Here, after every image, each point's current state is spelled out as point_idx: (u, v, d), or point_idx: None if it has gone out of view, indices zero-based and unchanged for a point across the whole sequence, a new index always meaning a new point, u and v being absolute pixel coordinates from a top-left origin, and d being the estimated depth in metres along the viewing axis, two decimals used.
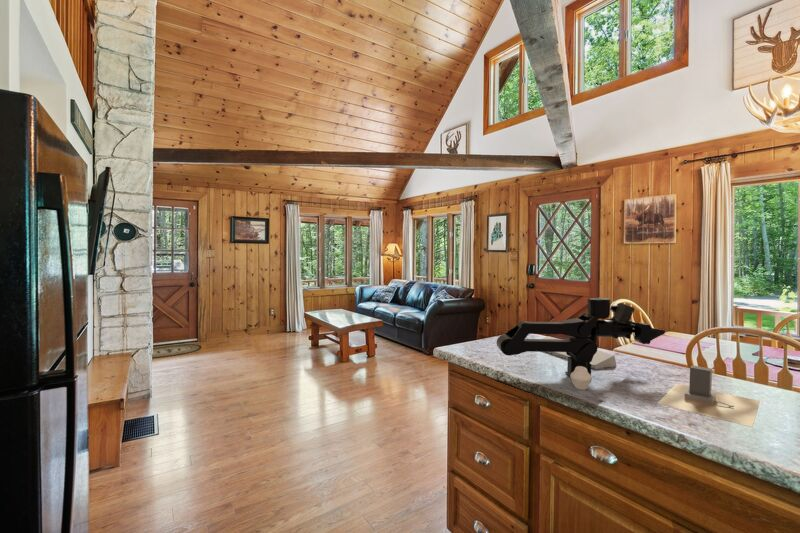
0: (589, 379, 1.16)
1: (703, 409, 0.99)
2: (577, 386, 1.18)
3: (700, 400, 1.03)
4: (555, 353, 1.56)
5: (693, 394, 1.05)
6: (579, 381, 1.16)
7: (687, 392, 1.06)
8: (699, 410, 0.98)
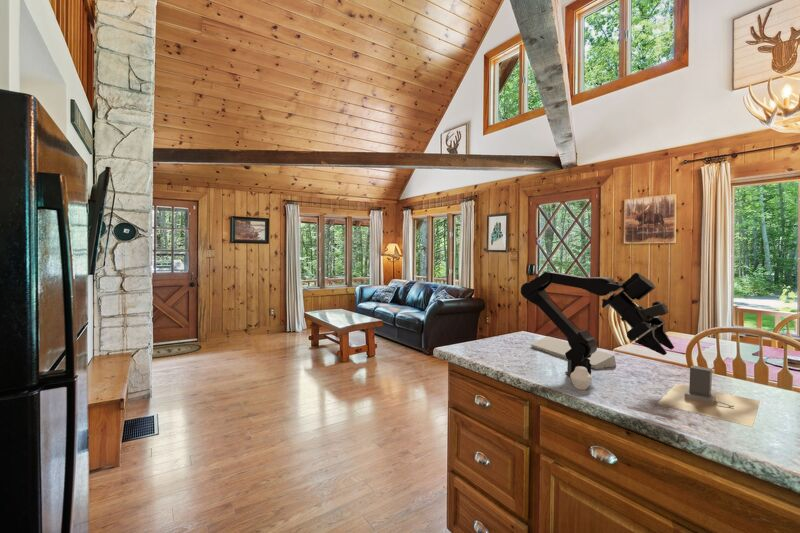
0: (589, 379, 1.16)
1: (703, 409, 0.99)
2: (577, 386, 1.18)
3: (700, 400, 1.03)
4: (555, 353, 1.56)
5: (693, 394, 1.05)
6: (579, 381, 1.16)
7: (687, 392, 1.06)
8: (699, 410, 0.98)
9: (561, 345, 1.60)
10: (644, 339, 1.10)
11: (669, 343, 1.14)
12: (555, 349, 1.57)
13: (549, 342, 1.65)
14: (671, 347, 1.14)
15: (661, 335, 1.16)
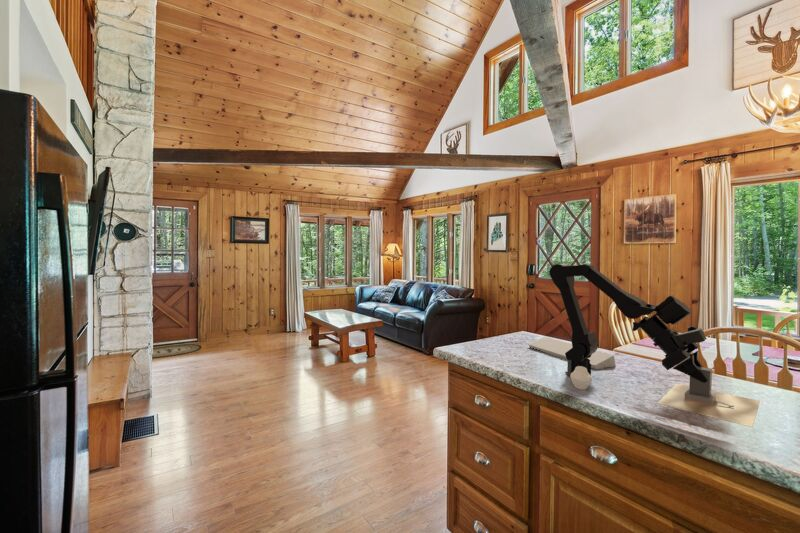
0: (589, 379, 1.16)
1: (703, 409, 0.99)
2: (577, 386, 1.18)
3: (700, 400, 1.03)
4: (553, 353, 1.55)
5: (693, 394, 1.05)
6: (579, 381, 1.16)
7: (687, 392, 1.06)
8: (699, 410, 0.98)
9: (559, 345, 1.59)
10: (683, 365, 1.06)
11: None
12: (554, 349, 1.57)
13: (547, 343, 1.65)
14: None
15: (695, 364, 1.08)
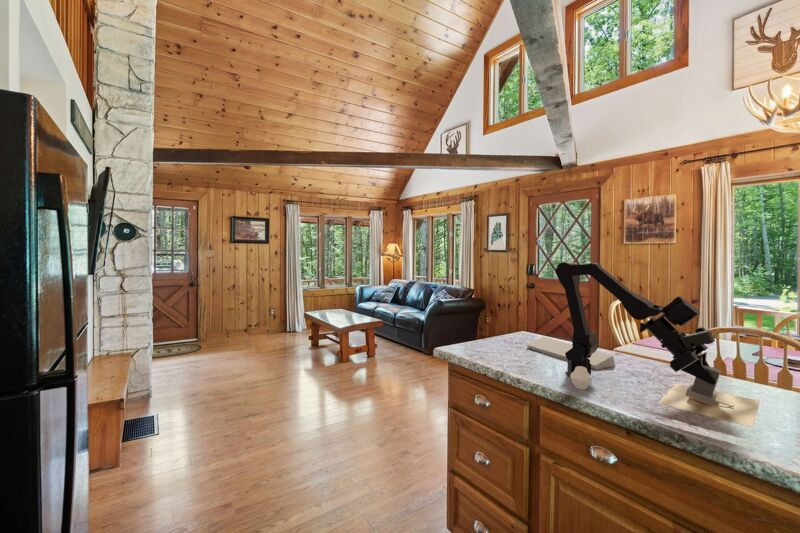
0: (589, 379, 1.16)
1: (703, 409, 0.99)
2: (577, 386, 1.18)
3: (701, 398, 1.03)
4: (552, 354, 1.55)
5: (695, 391, 1.04)
6: (579, 381, 1.16)
7: (689, 388, 1.06)
8: (699, 410, 0.98)
9: (558, 345, 1.59)
10: (691, 367, 1.04)
11: None
12: (553, 349, 1.57)
13: (545, 343, 1.64)
14: None
15: None
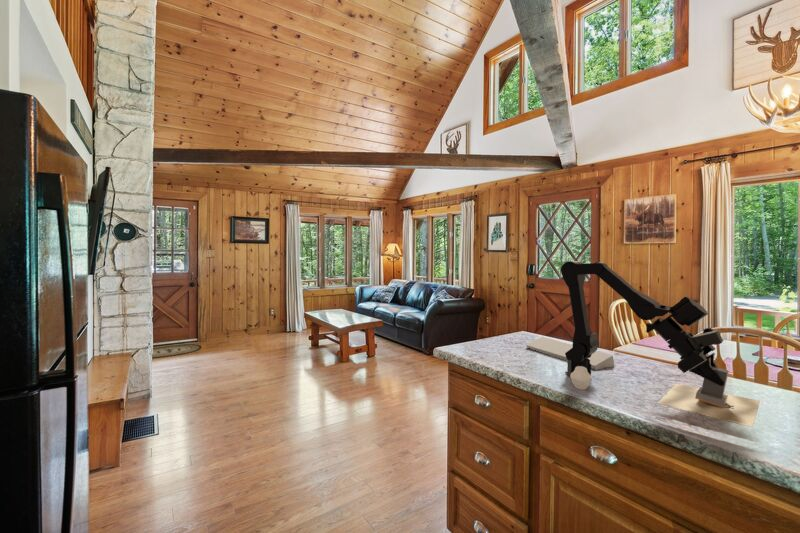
0: (589, 379, 1.16)
1: (703, 409, 0.99)
2: (577, 386, 1.18)
3: (712, 400, 1.01)
4: (552, 354, 1.55)
5: (705, 394, 1.03)
6: (579, 381, 1.16)
7: (699, 391, 1.04)
8: (699, 410, 0.98)
9: (557, 346, 1.59)
10: (699, 368, 1.03)
11: None
12: (552, 350, 1.56)
13: (544, 343, 1.64)
14: None
15: None
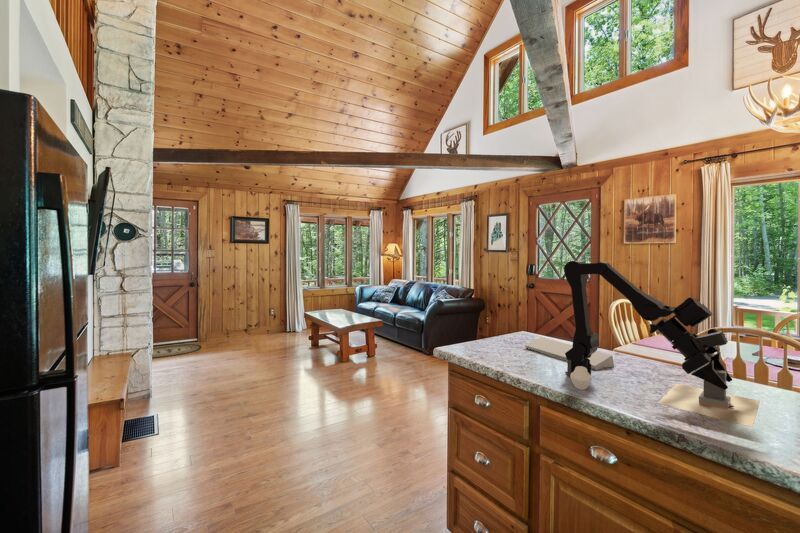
0: (589, 379, 1.16)
1: (703, 409, 0.99)
2: (577, 386, 1.18)
3: (715, 403, 1.01)
4: (551, 354, 1.54)
5: (707, 397, 1.02)
6: (579, 381, 1.16)
7: (701, 395, 1.04)
8: (699, 410, 0.98)
9: (556, 346, 1.58)
10: (702, 371, 1.00)
11: (726, 375, 1.04)
12: (551, 350, 1.56)
13: (543, 343, 1.64)
14: (729, 379, 1.04)
15: (717, 365, 1.06)
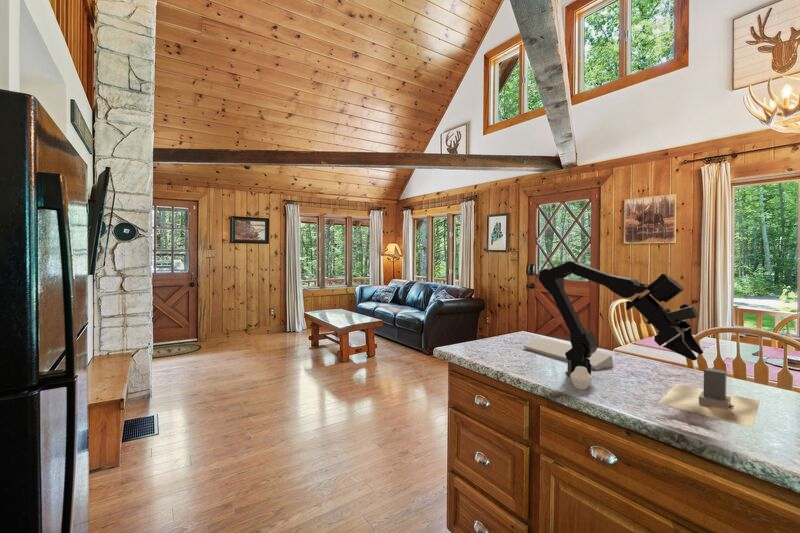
0: (589, 379, 1.16)
1: (703, 409, 0.99)
2: (577, 386, 1.18)
3: (715, 403, 1.01)
4: (550, 354, 1.54)
5: (707, 397, 1.02)
6: (579, 381, 1.16)
7: (701, 395, 1.04)
8: (699, 410, 0.98)
9: (555, 346, 1.58)
10: (673, 343, 1.05)
11: (698, 348, 1.09)
12: (550, 350, 1.56)
13: (542, 343, 1.63)
14: (700, 352, 1.09)
15: (689, 339, 1.11)
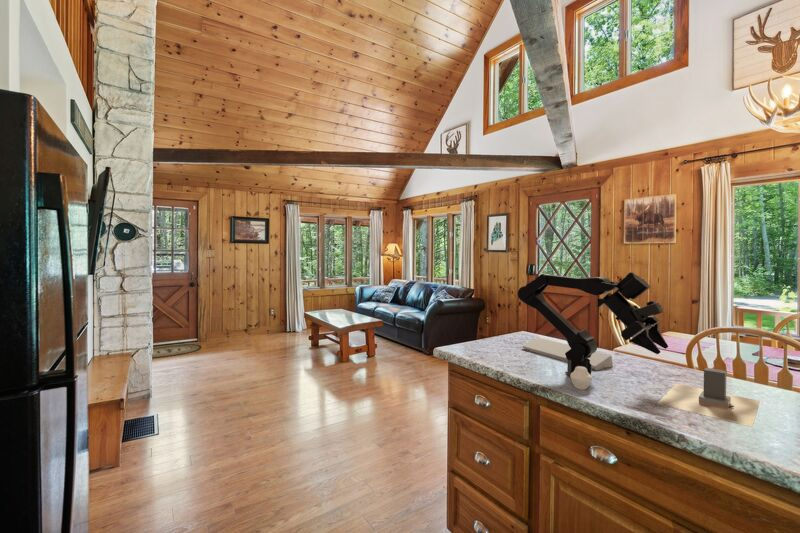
0: (589, 379, 1.16)
1: (703, 409, 0.99)
2: (577, 386, 1.18)
3: (715, 403, 1.01)
4: (549, 355, 1.53)
5: (707, 397, 1.02)
6: (579, 381, 1.16)
7: (701, 395, 1.04)
8: (699, 410, 0.98)
9: (554, 346, 1.58)
10: (638, 338, 1.11)
11: (663, 342, 1.15)
12: (550, 350, 1.55)
13: (541, 344, 1.63)
14: (665, 346, 1.15)
15: (655, 334, 1.17)
